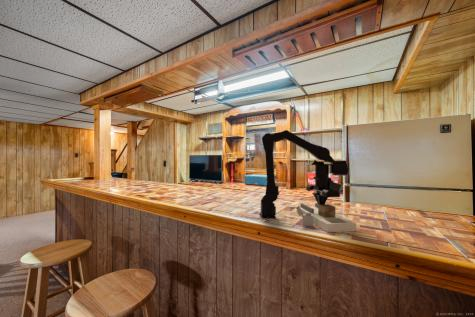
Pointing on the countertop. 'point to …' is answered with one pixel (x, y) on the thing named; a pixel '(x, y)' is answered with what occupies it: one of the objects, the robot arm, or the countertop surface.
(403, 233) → the countertop surface
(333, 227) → the pale grey tray
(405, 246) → the countertop surface
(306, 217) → the lighter
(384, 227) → the countertop surface
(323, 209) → the block
